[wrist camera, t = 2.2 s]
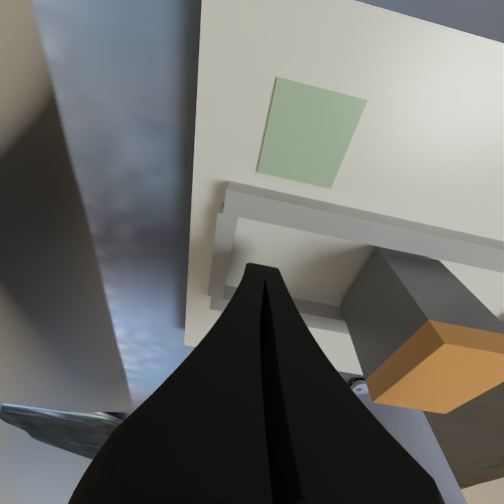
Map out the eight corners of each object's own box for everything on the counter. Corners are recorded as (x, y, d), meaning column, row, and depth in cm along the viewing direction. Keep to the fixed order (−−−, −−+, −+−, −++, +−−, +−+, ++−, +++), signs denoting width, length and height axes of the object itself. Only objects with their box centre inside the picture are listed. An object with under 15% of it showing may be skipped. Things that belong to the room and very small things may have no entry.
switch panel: (430, 369, 19) (450, 402, 17) (190, 327, 17) (179, 358, 15) (745, 129, 8) (896, 142, 6) (215, -21, 7) (193, -65, 5)
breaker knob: (390, 314, 13) (444, 413, 9) (339, 305, 13) (372, 402, 9) (438, 260, 10) (540, 360, 7) (377, 246, 10) (445, 343, 6)
